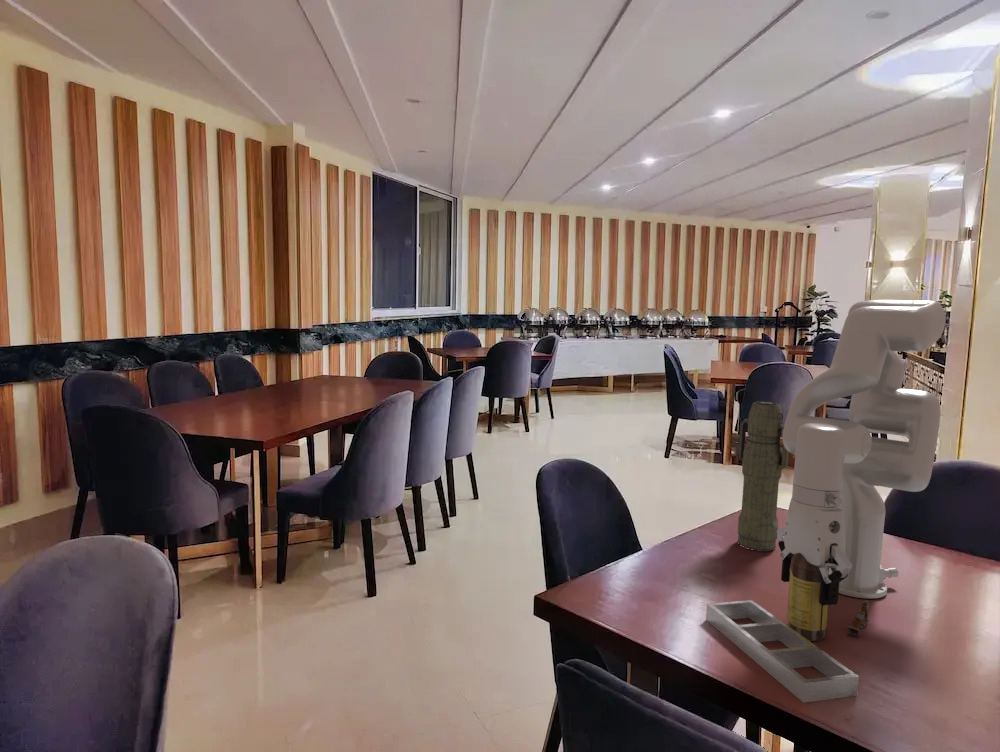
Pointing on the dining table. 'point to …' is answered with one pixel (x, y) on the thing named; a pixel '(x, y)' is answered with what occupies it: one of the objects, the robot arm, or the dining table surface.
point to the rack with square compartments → (782, 651)
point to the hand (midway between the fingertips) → (808, 592)
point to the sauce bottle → (806, 599)
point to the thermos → (761, 475)
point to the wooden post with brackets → (859, 620)
